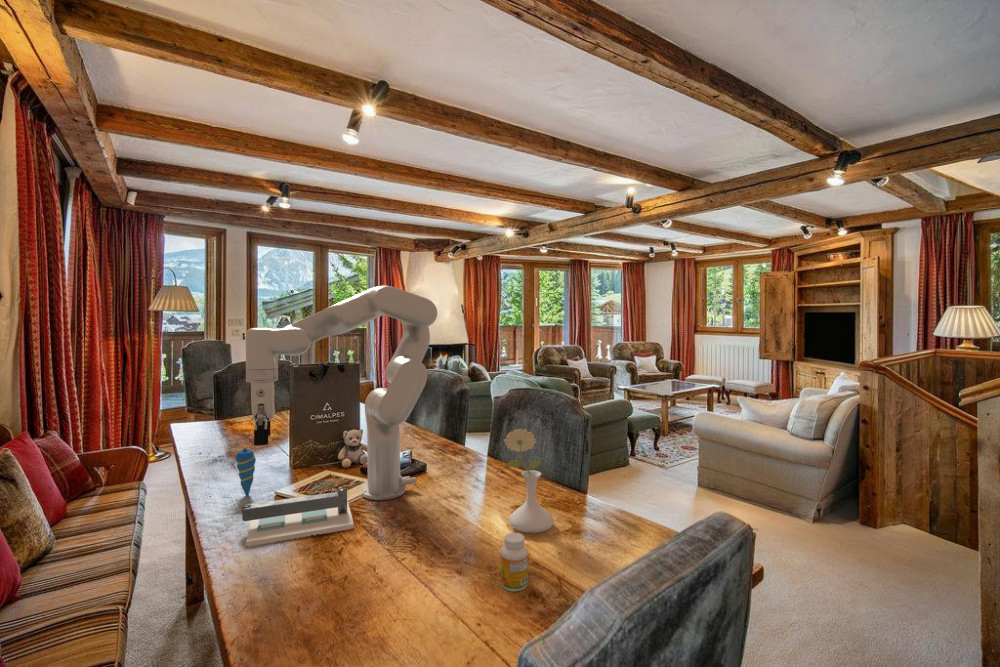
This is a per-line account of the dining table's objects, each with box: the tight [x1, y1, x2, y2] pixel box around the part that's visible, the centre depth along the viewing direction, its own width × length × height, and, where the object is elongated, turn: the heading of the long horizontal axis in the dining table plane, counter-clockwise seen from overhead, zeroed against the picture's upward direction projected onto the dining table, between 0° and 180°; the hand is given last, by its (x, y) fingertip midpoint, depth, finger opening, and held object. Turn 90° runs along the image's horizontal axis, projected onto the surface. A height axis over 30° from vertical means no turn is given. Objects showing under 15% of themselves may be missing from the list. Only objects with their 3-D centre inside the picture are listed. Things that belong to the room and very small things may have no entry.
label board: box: [245, 500, 355, 547], centre depth 123 cm, size 24×16×2 cm, turn 113°
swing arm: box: [241, 487, 348, 522], centre depth 122 cm, size 25×3×6 cm, turn 113°
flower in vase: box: [503, 428, 555, 534], centre depth 121 cm, size 13×11×25 cm
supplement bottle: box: [500, 532, 529, 593], centre depth 96 cm, size 5×5×10 cm
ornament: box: [235, 446, 257, 496], centre depth 141 cm, size 5×5×15 cm
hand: (262, 440), depth 125 cm, fingers open, 9 cm apart
